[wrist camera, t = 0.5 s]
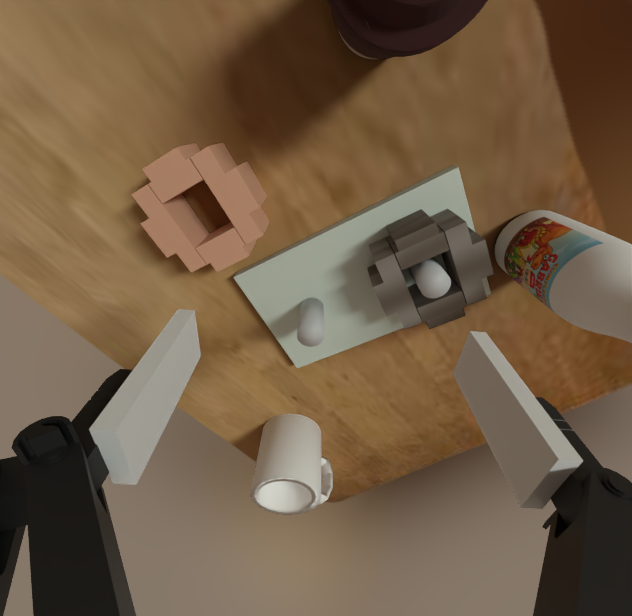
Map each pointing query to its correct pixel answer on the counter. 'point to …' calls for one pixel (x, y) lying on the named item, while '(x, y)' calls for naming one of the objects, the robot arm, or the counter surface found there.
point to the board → (347, 275)
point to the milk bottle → (571, 270)
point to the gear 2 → (419, 245)
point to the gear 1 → (181, 221)
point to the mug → (291, 466)
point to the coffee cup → (400, 24)
